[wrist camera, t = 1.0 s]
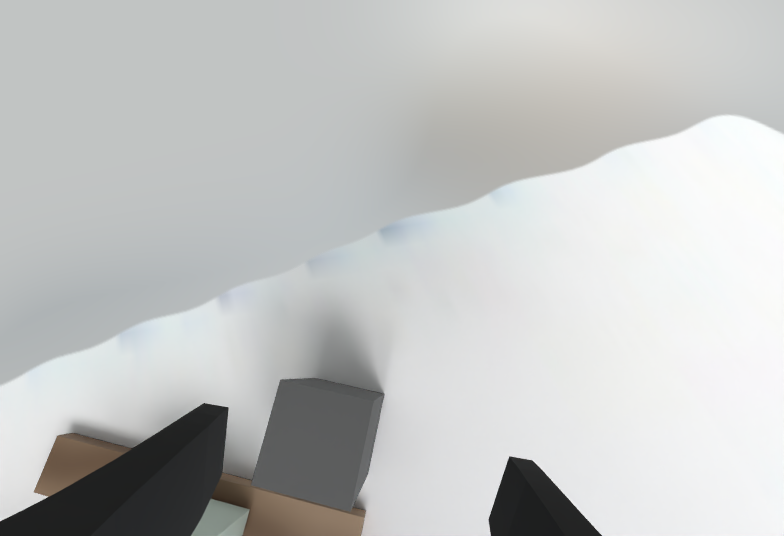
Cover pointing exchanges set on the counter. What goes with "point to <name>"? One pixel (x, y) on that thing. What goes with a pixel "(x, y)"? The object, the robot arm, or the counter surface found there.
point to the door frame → (267, 508)
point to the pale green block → (222, 520)
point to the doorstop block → (319, 441)
